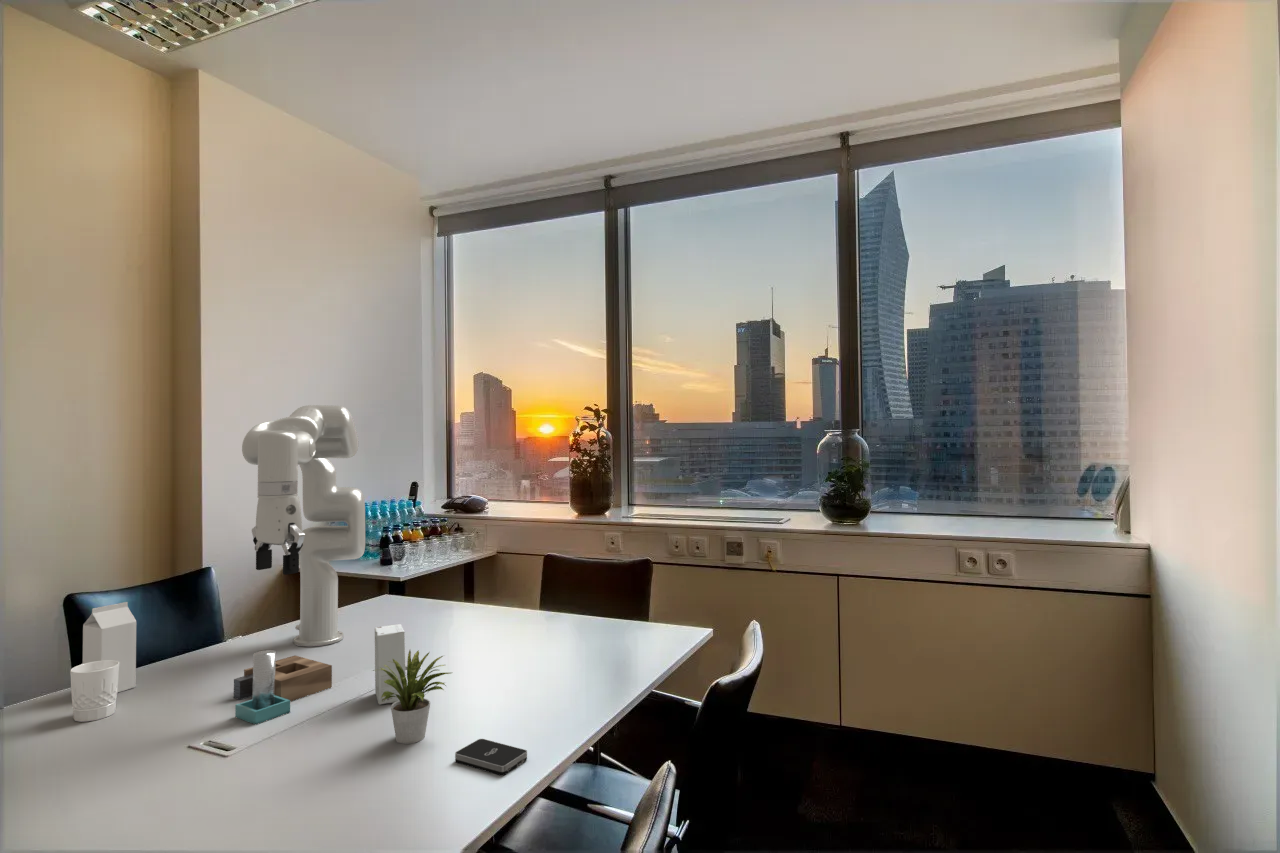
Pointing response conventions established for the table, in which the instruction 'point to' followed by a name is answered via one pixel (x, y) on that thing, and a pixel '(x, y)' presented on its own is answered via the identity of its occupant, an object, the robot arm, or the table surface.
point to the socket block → (299, 677)
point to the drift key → (243, 687)
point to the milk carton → (112, 640)
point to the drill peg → (263, 679)
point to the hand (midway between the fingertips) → (277, 571)
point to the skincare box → (388, 659)
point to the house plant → (411, 699)
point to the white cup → (94, 690)
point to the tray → (262, 710)
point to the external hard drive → (491, 756)
